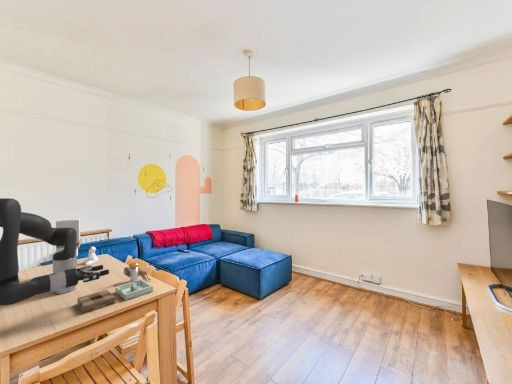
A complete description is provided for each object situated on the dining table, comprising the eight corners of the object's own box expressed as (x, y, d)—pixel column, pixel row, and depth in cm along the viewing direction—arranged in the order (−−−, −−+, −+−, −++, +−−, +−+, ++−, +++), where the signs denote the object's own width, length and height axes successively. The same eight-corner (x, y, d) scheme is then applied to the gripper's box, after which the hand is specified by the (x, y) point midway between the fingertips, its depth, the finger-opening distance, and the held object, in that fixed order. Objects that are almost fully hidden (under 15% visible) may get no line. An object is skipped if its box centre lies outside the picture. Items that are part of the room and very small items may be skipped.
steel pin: (127, 291, 123) (127, 264, 123) (136, 288, 127) (136, 262, 126) (131, 293, 120) (131, 266, 120) (140, 290, 124) (140, 263, 123)
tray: (115, 292, 123) (115, 286, 123) (142, 284, 133) (142, 279, 133) (125, 300, 114) (125, 294, 114) (153, 291, 124) (153, 285, 124)
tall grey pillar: (79, 277, 143) (78, 219, 142) (56, 281, 137) (55, 221, 136) (80, 271, 152) (79, 217, 151) (58, 275, 146) (58, 218, 145)
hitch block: (77, 304, 110) (77, 297, 110) (106, 295, 119) (106, 289, 119) (84, 313, 102) (84, 306, 102) (115, 303, 111) (115, 297, 111)
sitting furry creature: (81, 263, 169) (81, 246, 168) (95, 260, 175) (95, 244, 175) (85, 266, 163) (85, 248, 162) (100, 263, 169) (100, 246, 169)
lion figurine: (122, 284, 133) (122, 268, 133) (125, 280, 138) (125, 265, 138) (149, 282, 136) (149, 266, 136) (152, 278, 141) (151, 263, 141)
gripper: (66, 275, 97) (110, 265, 109) (59, 266, 106) (100, 258, 118) (67, 293, 97) (111, 281, 109) (59, 283, 106) (101, 272, 119)
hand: (105, 269), depth 114 cm, fingers open, 8 cm apart
